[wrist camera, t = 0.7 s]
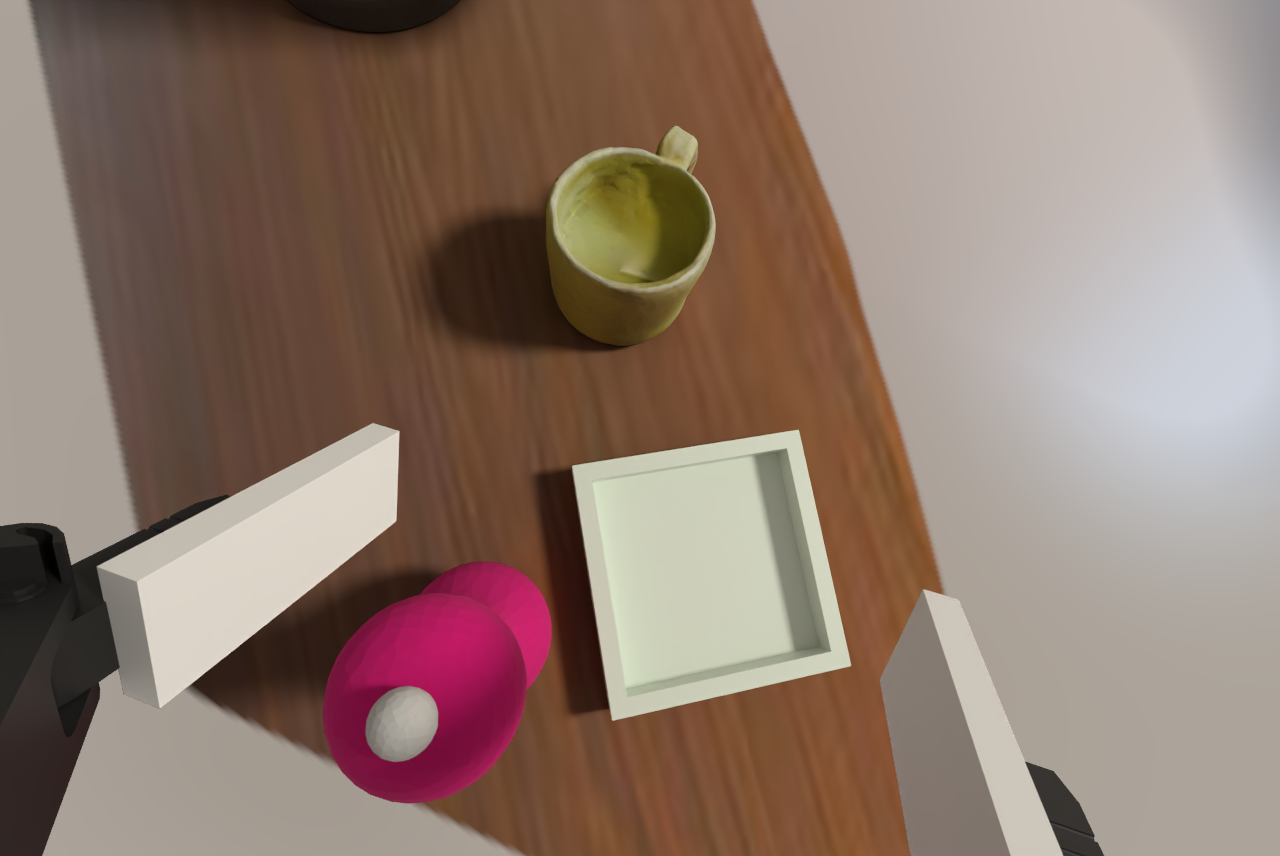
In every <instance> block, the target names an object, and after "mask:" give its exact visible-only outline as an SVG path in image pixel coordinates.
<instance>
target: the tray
mask: <svg viewBox="0 0 1280 856" xmlns="http://www.w3.org/2000/svg"><path fill="white" fill-rule="evenodd" d="M572 476H573V483H574V489H575V495H576V502H577V508H578V515H579V521H580V527H581V534H582V540H583V546H584V553H585V559H586V566H587V572H588V578H589V585H590V591H591V598H592V604H593V610H594V617H595V623H596V629H597V636H598V642H599V649H600V655H601V661H602V668H603V674H604V680H605V687H606V693H607V700H608V706H609V711H610V714H611V718H612V721H614V720H618V719H622V718H627V717H631V716H635V715H640V714H644V713H648V712H653V711H657V710H661V709H666V708H670V707H674V706H679V705H683V704H688V703H692V702H696V701H701V700H705V699H709V698H714V697H718V696H722V695H727V694H731V693H735V692H740V691H744V690H749V689H753V688H757V687H762V686H766V685H770V684H775V683H779V682H783V681H788V680H792V679H796V678H801V677H805V676H809V675H814V674H818V673H823V672H827V671H831V670H836V669H840V668H844V667H849V666H851V663H850V658H849V654H848V649H847V645H846V640H845V636H844V631H843V627H842V622H841V618H840V613H839V609H838V604H837V600H836V595H835V591H834V586H833V582H832V577H831V573H830V568H829V564H828V559H827V555H826V550H825V546H824V541H823V537H822V532H821V528H820V523H819V519H818V514H817V510H816V505H815V501H814V496H813V492H812V487H811V483H810V478H809V474H808V469H807V465H806V460H805V456H804V452H803V447H802V443H801V438H800V434H799V430H794V431H788V432H782V433H775V434H769V435H763V436H757V437H750V438H744V439H738V440H731V441H725V442H719V443H712V444H706V445H700V446H693V447H687V448H681V449H674V450H668V451H662V452H655V453H649V454H643V455H637V456H630V457H624V458H618V459H611V460H605V461H599V462H592V463H586V464H580V465H573V466H572Z"/></svg>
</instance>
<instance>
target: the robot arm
mask: <svg viewBox="0 0 1280 856" xmlns="http://www.w3.org/2000/svg"><path fill="white" fill-rule="evenodd" d="M288 1H289V2H290V3H291V4H293V5H294V6H295V7H297V8H298V9H300V10H301V11H303V12H305V13H306V14H308V15H310V16H312V17H314V18H316V19H318V20H320V21H323V22H325V23H328V24H331V25H334V26H337V27H341V28H345V29H350V30H356V31H364V32H389V31H397V30H403V29H408V28H412V27H415V26H419V25H421V24H424V23H427V22H429V21H431V20H433V19H435V18H437V17H439V16H441V15H442V14H444V13H446V12H447V11H448V10H450V9H451V8H452V7H454V6H455V5H456V4H457V3H458V2H459V1H460V0H288ZM398 456H399V431H397V430H394V429H390V428H387V427H384V426H381V425H377V424H374V423H372V424H370V425H369V426H367V427H365V428H363V429H361V430H359V431H357V432H355V433H353V434H351V435H349V436H347V437H345V438H343V439H342V440H340V441H338V442H336V443H334V444H332V445H330V446H328V447H326V448H324V449H322V450H320V451H318V452H317V453H315V454H313V455H311V456H309V457H307V458H305V459H303V460H301V461H299V462H297V463H295V464H293V465H291V466H290V467H288V468H286V469H284V470H282V471H280V472H278V473H276V474H274V475H272V476H270V477H268V478H266V479H264V480H263V481H261V482H259V483H257V484H255V485H253V486H251V487H249V488H247V489H245V490H243V491H241V492H239V493H237V494H236V495H234V496H232V497H231V496H228V495H224V496H220V497H217V498H213V499H209V500H206V501H202V502H198V503H195V504H193V505H191V506H189V507H187V508H185V509H183V510H181V511H179V512H177V513H175V514H173V515H171V517H170V518H169V519H166V518H165V519H163V520H161V521H159V522H157V523H155V524H153V525H151V526H150V527H149V529H148V530H146V529H143V530H141V531H139V532H137V533H135V534H133V535H131V536H129V537H127V538H125V539H123V540H121V541H119V542H117V543H115V544H114V545H111V546H109V547H107V548H105V549H103V550H101V551H99V552H97V553H95V554H93V555H91V556H89V557H87V558H85V559H83V560H81V561H79V562H77V563H75V564H73V565H71V562H70V558H69V554H68V549H67V545H66V541H65V536H64V533H63V532H61V531H60V530H59V529H58V528H57V527H54V526H50V525H46V524H43V523H19V524H12V525H5V526H0V856H42V854H43V852H44V849H45V846H46V843H47V841H48V838H49V835H50V833H51V830H52V827H53V824H54V821H55V819H56V816H57V813H58V811H59V808H60V805H61V803H62V800H63V797H64V794H65V792H66V789H67V786H68V783H69V781H70V778H71V775H72V772H73V770H74V767H75V764H76V761H77V759H78V756H79V753H80V750H81V748H82V745H83V742H84V740H85V737H86V734H87V731H88V729H89V726H90V723H91V721H92V718H93V715H94V712H95V709H96V707H97V704H98V701H99V698H100V687H99V682H100V681H101V680H102V679H104V678H105V677H107V676H108V675H109V674H111V673H113V672H114V671H116V670H117V669H118V670H119V674H120V679H121V684H122V689H123V693H124V694H125V695H128V696H130V697H132V698H135V699H137V700H140V701H142V702H145V703H147V704H150V705H152V706H154V707H157V708H159V709H160V708H162V707H163V706H164V705H165V704H167V703H168V702H169V701H170V700H172V699H173V698H174V697H175V696H177V695H178V694H179V693H180V692H182V691H183V690H184V689H185V688H187V687H188V686H189V685H191V684H192V683H193V682H194V681H196V680H197V679H198V678H199V677H201V676H202V675H203V674H204V673H206V672H207V671H208V670H209V669H211V668H212V667H213V666H214V665H216V664H217V663H218V662H219V661H221V660H222V659H223V658H225V657H226V656H227V655H228V654H230V653H231V652H232V651H233V650H235V649H236V648H237V647H238V646H240V645H241V644H242V643H243V642H245V641H246V640H247V639H248V638H250V637H251V636H252V635H253V634H255V633H256V632H257V631H259V630H260V629H261V628H262V627H264V626H265V625H266V624H267V623H269V622H270V621H271V620H272V619H274V618H275V617H276V616H277V615H279V614H280V613H281V612H282V611H284V610H285V609H286V608H288V607H289V606H290V605H291V604H293V603H294V602H295V601H296V600H298V599H299V598H300V597H301V596H303V595H304V594H305V593H306V592H308V591H309V590H310V589H311V588H313V587H314V586H315V585H316V584H318V583H319V582H320V581H322V580H323V579H324V578H325V577H327V576H328V575H329V574H330V573H332V572H333V571H334V570H335V569H337V568H338V567H339V566H340V565H342V564H343V563H344V562H345V561H347V560H348V559H349V558H350V557H352V556H353V555H354V554H356V553H357V552H358V551H359V550H361V549H362V548H363V547H364V546H366V545H367V544H368V543H369V542H371V541H372V540H373V539H374V538H376V537H377V536H378V535H379V534H381V533H382V532H383V531H385V530H386V529H387V528H388V527H390V526H391V525H392V524H393V523H395V522H396V515H397V485H398ZM880 683H881V689H882V695H883V701H884V706H885V712H886V718H887V723H888V729H889V735H890V741H891V746H892V752H893V758H894V763H895V769H896V775H897V781H898V786H899V792H900V798H901V803H902V809H903V815H904V821H905V826H906V832H907V838H908V843H909V849H910V855H911V856H1104V855H1103V853H1102V850H1101V848H1100V846H1099V844H1098V843H1097V842H1095V841H1094V834H1093V832H1092V829H1091V827H1090V825H1089V823H1088V821H1087V819H1086V817H1085V814H1084V812H1083V810H1082V808H1081V806H1080V804H1079V802H1078V801H1077V800H1076V799H1075V797H1074V796H1073V795H1072V794H1071V793H1070V791H1069V790H1068V789H1067V788H1066V786H1065V785H1064V784H1063V783H1062V781H1061V780H1060V779H1059V778H1058V776H1057V775H1056V774H1055V773H1054V771H1051V770H1048V769H1045V768H1042V767H1040V766H1037V765H1033V764H1031V763H1028V762H1025V761H1024V758H1023V756H1022V754H1021V751H1020V749H1019V746H1018V744H1017V741H1016V739H1015V737H1014V734H1013V732H1012V729H1011V727H1010V725H1009V722H1008V719H1007V717H1006V714H1005V712H1004V710H1003V707H1002V705H1001V702H1000V700H999V697H998V695H997V693H996V690H995V688H994V685H993V683H992V680H991V678H990V675H989V673H988V671H987V668H986V666H985V663H984V661H983V658H982V656H981V653H980V651H979V648H978V646H977V643H976V641H975V639H974V636H973V634H972V631H971V629H970V626H969V624H968V622H967V619H966V617H965V614H964V612H963V609H962V607H961V604H960V602H959V600H957V599H954V598H951V597H948V596H944V595H941V594H938V593H934V592H931V591H928V590H924V589H923V591H922V593H921V595H920V597H919V599H918V601H917V603H916V605H915V607H914V609H913V611H912V614H911V616H910V618H909V620H908V622H907V624H906V626H905V628H904V630H903V632H902V634H901V636H900V639H899V641H898V643H897V645H896V647H895V649H894V651H893V653H892V655H891V657H890V659H889V662H888V664H887V666H886V668H885V670H884V672H883V674H882V676H881V678H880Z"/></svg>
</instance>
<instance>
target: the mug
mask: <svg viewBox="0 0 1280 856" xmlns="http://www.w3.org/2000/svg"><path fill="white" fill-rule="evenodd" d="M697 155H698V142H697V140H696V139H695V137H693V136H692V135H690V134H689V133H687V132H685V131H684V130H682V129H681V128H679V127H678V126H673V127H672V128H671V129H670V130H669V131H668V132H667V133H666V134H665V135H664V137H663V138H662V140H661V141H660V142H659V145H658V148H657V152H656V155H654V154H652V153H650V152H647V151H645V150H642V149H639V148H637V149H636V148H627V147H615V148H611V147H609V148H602V149H600V150H596V151H593V152H590V153H588V154H586V155H584V156H582V157H581V158H579V159H578V160H576V161H575V162H573V163H572V164H570V165H569V166H568V167H567V168H566V169H565V170H564V171H563V172H562V173H561V174H560V176H559V177H558V178H557V179H556V181H555V183H554V184H553V186H552V188H551V191H550V194H549V197H548V201H547V207H546V248H547V255H548V263H549V269H550V275H551V284H552V290H553V293H554V296H555V299H556V302H557V304H558V306H559V308H560V310H561V312H562V313H563V315H564V316H565V318H566V319H567V320H568V322H569V323H570V324H572V325H573V326H574V327H575V328H576V329H577V330H578V331H580V332H581V333H583V334H584V335H586V336H587V337H589V338H591V339H593V340H596V341H598V342H602V343H608V344H612V345H617V346H627V345H635V344H639V343H643V342H645V341H648V340H650V339H652V338H654V337H656V336H657V335H659V334H660V333H662V332H663V331H664V330H665V329H666V328H667V327H669V325H670V324H671V323H672V322H673V321H674V320H675V318H676V317H677V315H678V314H679V312H680V310H681V309H682V306H683V304H684V302H685V299H686V296H687V295H688V293H689V292H690V290H691V289H692V287H693V286H694V284H695V283H696V281H697V280H698V278H699V277H700V275H701V274H702V272H703V270H704V268H705V266H706V264H707V262H708V259H709V257H710V254H711V251H712V248H713V244H714V239H715V216H714V212H713V208H712V205H711V202H710V198H709V196H708V195H707V193H706V191H705V189H704V188H703V186H702V185H701V184H700V183H699V182H698V181H697V180H696V178H695V177H693V176H692V175H691V173H692V171H693V169H694V166H695V164H696V161H697Z"/></svg>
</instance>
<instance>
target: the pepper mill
mask: <svg viewBox="0 0 1280 856" xmlns="http://www.w3.org/2000/svg"><path fill="white" fill-rule="evenodd" d="M551 634H552V628H551V618H550V614H549V609H548V607H547V604H546V602H545V599H544V597H543V596H542V594H541V592H540V591H539V589H538V588H537V587H536V586H535V584H534V583H533V582H532V581H531V580H530V579H529V578H527V577H526V576H525V575H524V574H523V573H521V572H519V571H518V570H516V569H514V568H512V567H510V566H507V565H504V564H501V563H495V562H472V563H468V564H463V565H460V566H457V567H455V568H453V569H450V570H448V571H447V572H445V573H443V574H442V575H440V576H439V577H437V578H436V579H435V580H434V581H433V582H431V583H430V584H429V585H428V586H427V587H425V588H424V590H423V591H422V592H421V594H420V595H416V596H412V597H410V598H407V599H404V600H401V601H399V602H396V603H393V604H391V605H389V606H388V607H386V608H384V609H383V610H381V611H380V612H378V613H376V614H375V615H374V616H373V617H371V618H370V619H369V620H368V621H367V622H365V623H364V624H363V625H362V626H361V627H360V628H359V629H358V630H357V631H356V632H355V634H354V635H353V636H352V637H351V638H350V639H349V640H348V641H347V643H346V644H345V646H344V647H343V649H342V650H341V652H340V653H339V655H338V656H337V658H336V661H335V663H334V665H333V668H332V670H331V673H330V675H329V678H328V682H327V687H326V691H325V696H324V707H323V722H324V732H325V735H326V739H327V742H328V745H329V748H330V751H331V754H332V756H333V758H334V760H335V761H336V763H337V764H338V766H339V768H340V769H341V771H342V772H343V773H344V774H345V775H346V776H347V777H348V778H349V779H350V780H351V781H352V782H353V783H354V784H355V785H356V786H358V787H359V788H361V789H363V790H364V791H366V792H367V793H369V794H370V795H373V796H376V797H379V798H382V799H385V800H388V801H392V802H400V803H420V802H429V801H433V800H438V799H442V798H445V797H448V796H450V795H453V794H455V793H457V792H459V791H460V790H462V789H464V788H466V787H467V786H469V785H471V784H473V783H474V782H475V781H476V780H478V779H479V778H480V777H481V776H482V775H484V774H485V773H486V772H487V771H488V770H489V769H491V767H492V766H493V765H494V764H495V762H496V761H497V760H498V759H499V757H500V756H501V755H502V754H503V752H504V751H505V749H506V748H507V746H508V745H509V743H510V741H511V740H512V738H513V737H514V734H515V732H516V730H517V728H518V726H519V724H520V721H521V717H522V714H523V710H524V706H525V697H526V690H527V689H528V688H529V687H530V686H531V685H532V684H533V682H534V681H535V679H536V677H537V676H538V674H539V672H540V671H541V669H542V667H543V666H544V663H545V661H546V658H547V656H548V652H549V648H550V644H551Z"/></svg>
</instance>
